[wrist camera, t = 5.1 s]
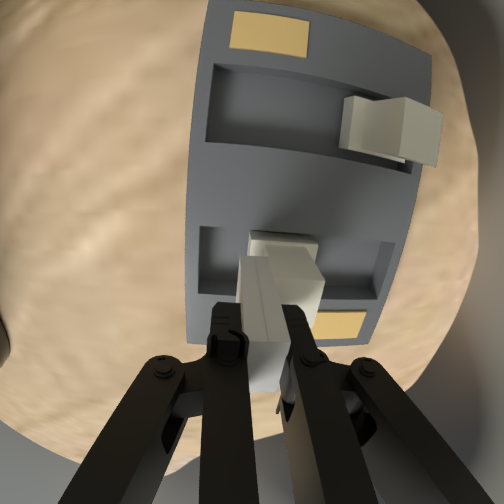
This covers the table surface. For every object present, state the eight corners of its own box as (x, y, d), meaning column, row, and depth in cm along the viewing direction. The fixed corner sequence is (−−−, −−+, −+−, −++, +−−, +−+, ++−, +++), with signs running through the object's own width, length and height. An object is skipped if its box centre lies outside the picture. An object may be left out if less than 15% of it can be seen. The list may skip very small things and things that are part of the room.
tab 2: (338, 147, 15) (383, 156, 10) (344, 98, 14) (391, 87, 9) (392, 160, 16) (446, 175, 11) (398, 114, 14) (453, 114, 9)
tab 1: (244, 276, 18) (249, 329, 13) (249, 230, 17) (257, 273, 12) (303, 279, 19) (326, 330, 14) (311, 235, 18) (341, 277, 13)
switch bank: (191, 318, 21) (186, 345, 18) (212, 17, 13) (208, -3, 10) (355, 322, 23) (369, 345, 20) (407, 61, 14) (433, 55, 11)
